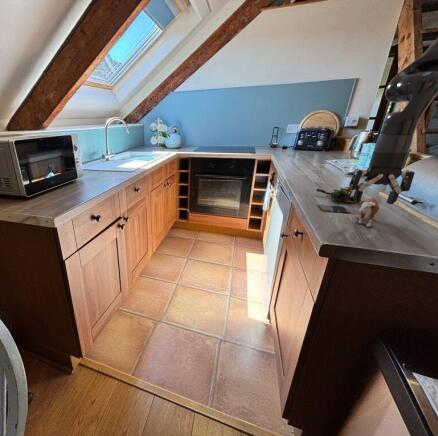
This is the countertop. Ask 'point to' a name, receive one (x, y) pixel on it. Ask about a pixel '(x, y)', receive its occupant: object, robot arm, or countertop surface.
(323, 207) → the slate coaster
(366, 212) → the bull figurine
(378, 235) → the countertop surface
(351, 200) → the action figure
